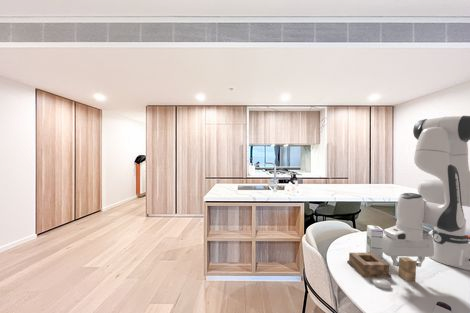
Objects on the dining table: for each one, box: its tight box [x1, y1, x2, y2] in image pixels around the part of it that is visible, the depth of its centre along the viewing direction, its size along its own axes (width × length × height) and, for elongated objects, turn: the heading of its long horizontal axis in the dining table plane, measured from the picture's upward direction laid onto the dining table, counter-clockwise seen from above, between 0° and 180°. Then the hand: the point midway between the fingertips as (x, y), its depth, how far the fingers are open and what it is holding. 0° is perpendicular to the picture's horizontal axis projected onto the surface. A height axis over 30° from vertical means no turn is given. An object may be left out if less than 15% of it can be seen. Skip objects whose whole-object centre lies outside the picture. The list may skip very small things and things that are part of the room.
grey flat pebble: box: [371, 277, 391, 290], centre depth 87 cm, size 6×6×2 cm
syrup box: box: [365, 224, 384, 259], centre depth 112 cm, size 6×6×14 cm
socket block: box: [347, 252, 392, 278], centre depth 98 cm, size 12×12×5 cm
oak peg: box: [397, 256, 417, 282], centre depth 92 cm, size 4×4×8 cm
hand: (406, 265), depth 92 cm, fingers open, 8 cm apart
